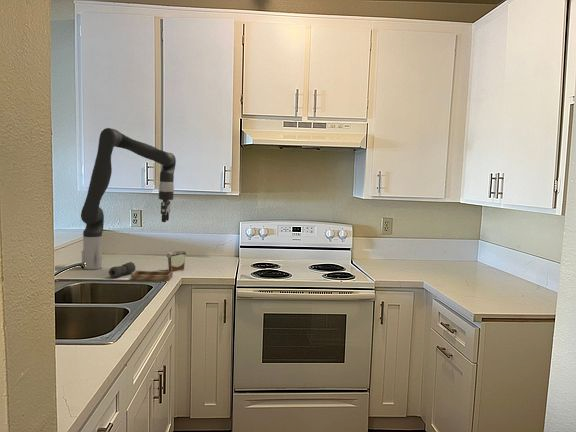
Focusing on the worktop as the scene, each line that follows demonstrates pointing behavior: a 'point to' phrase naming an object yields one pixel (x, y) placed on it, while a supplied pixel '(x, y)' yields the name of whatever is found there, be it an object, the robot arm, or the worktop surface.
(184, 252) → the food container
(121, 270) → the flashlight
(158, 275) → the open wooden frame
